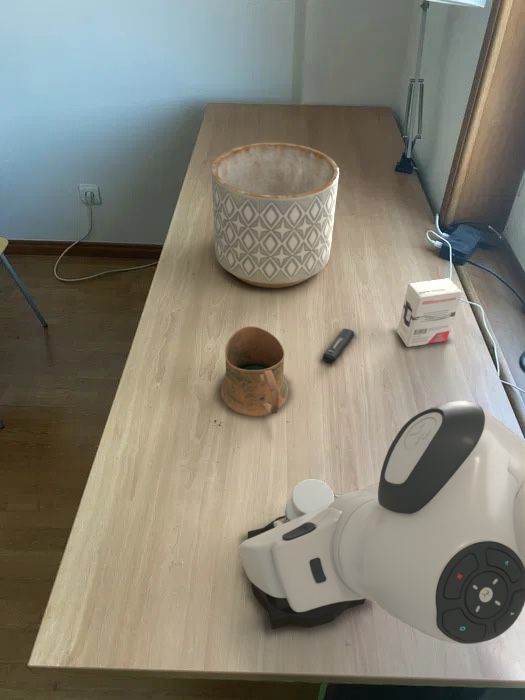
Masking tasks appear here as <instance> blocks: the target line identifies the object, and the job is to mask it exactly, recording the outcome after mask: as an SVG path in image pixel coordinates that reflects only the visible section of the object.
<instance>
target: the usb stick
mask: <svg viewBox="0 0 525 700" xmlns="http://www.w3.org/2000/svg"><path fill="white" fill-rule="evenodd" d="M354 336H355V331H354V330H352V329H350V328H342V329H341V330H340V332H339V334H338V335H337V336H336V337H335V339H334V340H333V342H331V344H330V345H329V347H328V348H327V349H326V351H325V352H324V353H323V355H322V357H323V358H322V359H323V360H324V361H326V362H329V363H335V362H336V361H337V360H338V358H339V357H340V356H341V354H342V353H343V352H344V350H345V349H346V347H347V346H348V345H349V343H350V342H351V340H352V339H353V338H354Z"/></svg>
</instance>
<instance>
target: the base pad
mask: <svg viewBox="0 0 525 700" xmlns="http://www.w3.org/2000/svg"><path fill="white" fill-rule="evenodd" d="M282 518H285V515H281V516H278V517H277V518H275V519H273V520H272V521H271V522H269V523H268V524H266V525H265V526H264V527H262V528H256V529H252V530H249V531H247V539H250V538H252V537H255V536H257V535H259V534H261V533H264V532H266V531H268V530H271V529H273V528H275V527H274V522H275V521H277V520H280V519H282ZM250 585H251V588H252V592H253V595H254V597H255V598H256V599H257V600H258V602H259V603H260V605H261V606H262V607H263V609H264V610H265V611H266V612H267V613H266V614H267V616H268V621H269V624H270V627H271V628H270V629H271V630H275V629H278V628H282V627H284V626H285V627H286V626H288V625H289V626H290V625H291V626H296V627H297V626H298V627H303V628H314V627H318V626H321V625H324V624H328V623H331V622H333V621H335V620H336V619H337V618H338V617H339V616H340V615H342V614H343V613H344V612H345V611H346V610H348V609H350V608H353V607H357V606H361V605H364V603H365V601H366V598H365V599H360V600H351V601H343V602H337V603H332V604H328V605H325V606H321V607H318V608H314V609H311V610H308V611H304V612H296V611H294V610H293V609H292V608H291V607H290V605H289V602H288V600H287V598H277V597H273V596H271V595H269V594H267V593H265V592H264V591H262V590H261V589H259V588H258V587H257V586H256V585H254V584H253V583H252V582H251V581H250Z"/></svg>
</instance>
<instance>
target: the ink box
mask: <svg viewBox="0 0 525 700" xmlns="http://www.w3.org/2000/svg"><path fill="white" fill-rule="evenodd" d="M462 294H463V292H462V290H461V289H460V288H459V287H458V286H457V285H456V284H455V283H454V282H453V280H451V278H449V277H446V278H440V279H432V280H426V281H419V282H418V281H417V282H411V283H408V284H407V288H406V293H405V296H404V301H403V305H402V309H401V314H400V318H399V323H398V326H397V331H396V332H397V334H398V336H399V338H400V339H401V341H402V342H403V343H404V345H405V346H406V347H407V348H410V347H416V346H417V347H418V346H424V345H428V344H435V343H442V342H446V341H447V340H448V339H449V338H448V337H449V335H450V331H451V328H452V325H453V322H454V319H455V316H456V313H457V310H458V306H459V303H460V301H461V297H462Z"/></svg>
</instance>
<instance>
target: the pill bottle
mask: <svg viewBox="0 0 525 700" xmlns="http://www.w3.org/2000/svg"><path fill="white" fill-rule="evenodd" d="M334 496H335V495H334V492H333V490H332V488H331V487H330V486H329V484H328V483H326V482H324V481H323V480H320V479H317V478H308V479H304V480H301V481H299V482H298V483H297V484H296V485H295V486H294V488H293V490H292V492H291V496H289V498H288V500H287V503H286V506H285V511H284V516H285V517H286V518H287V519H290V521H291V520H293V519H296V518H298V517H300V516H303V515H305V514H307V513H309V512H312V511H314V510H316V509H319V508H321V507H323V506H325V505H328V504H330V503H332V502H333V501H334Z"/></svg>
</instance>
